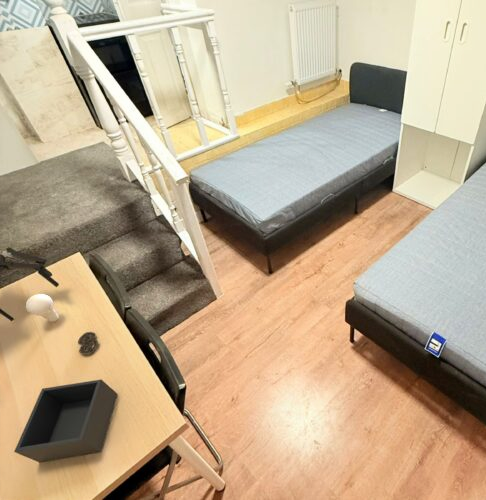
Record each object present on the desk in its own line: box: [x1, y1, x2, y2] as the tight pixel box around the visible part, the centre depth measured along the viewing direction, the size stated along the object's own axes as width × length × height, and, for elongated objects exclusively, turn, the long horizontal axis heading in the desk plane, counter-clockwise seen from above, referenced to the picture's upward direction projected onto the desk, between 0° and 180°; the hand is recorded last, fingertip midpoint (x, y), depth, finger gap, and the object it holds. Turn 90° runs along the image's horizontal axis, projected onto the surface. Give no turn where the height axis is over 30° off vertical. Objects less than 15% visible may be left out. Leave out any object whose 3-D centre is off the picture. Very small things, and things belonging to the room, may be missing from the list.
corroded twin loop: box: [77, 331, 99, 355], centre depth 96 cm, size 5×8×1 cm, turn 35°
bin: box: [13, 378, 118, 463], centre depth 78 cm, size 13×13×9 cm
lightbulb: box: [25, 293, 60, 323], centre depth 99 cm, size 6×6×11 cm
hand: (36, 302), depth 98 cm, fingers open, 13 cm apart
